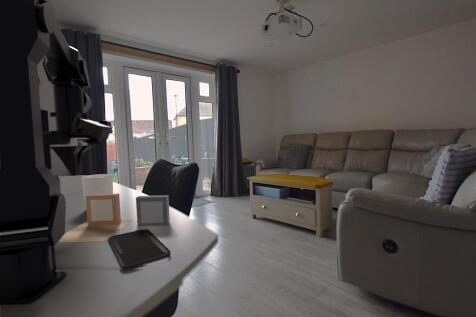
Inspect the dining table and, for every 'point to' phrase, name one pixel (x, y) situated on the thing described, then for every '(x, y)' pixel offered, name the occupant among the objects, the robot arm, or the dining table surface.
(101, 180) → the white cup
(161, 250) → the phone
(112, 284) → the dining table surface
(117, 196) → the terracotta tile
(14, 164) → the robot arm
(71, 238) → the cork mat
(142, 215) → the gray box
